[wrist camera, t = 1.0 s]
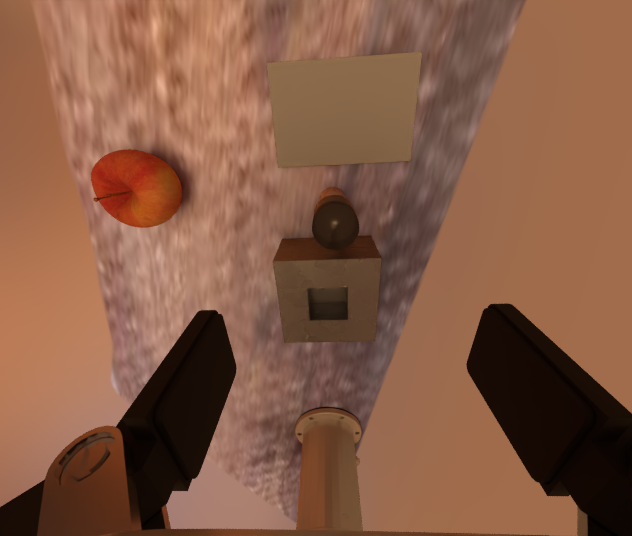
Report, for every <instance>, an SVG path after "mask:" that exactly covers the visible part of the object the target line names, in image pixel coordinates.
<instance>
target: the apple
mask: <svg viewBox="0 0 632 536" xmlns="http://www.w3.org/2000/svg"><path fill="white" fill-rule="evenodd" d="M91 181H92V185H93V189H94V192H95V194H96V196H97V198H94V201H96V202H97V201H98V200H99V202H100V203H101V205H102V206H103V207H104V209H105V210H106V211H107V212H108V213H109V214H110V215H112V216H113V217H114V218H116V219H117V220H119V221H120V222H122V223H125V224H127V225H130V226H134V227H141V228H145V227H153V226H157V225H159V224H162V223H164V222H166V221H167V220H169V219H170V218H171V217H172V216H173V215H174V214H175V213H176V211H177V210H178V208H179V206H180V203H181V199H182V188H181V184H180V181H179V178H178V177H177V175H176V173H175V172H174V171H173V169H172V168H171V167H170V166H169V165H168V164H166V163H165V162H164V161H162V160H161V159H159V158H158V157H156V156H154V155H151V154H149V153H146V152H143V151H138V150H119V151H115V152H112V153H109V154H107V155H105V156H104V157H102V158H101V159H100V160H99V161H98V162H97V163H96V164H95V166H94V167H93V169H92V172H91Z"/></svg>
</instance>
